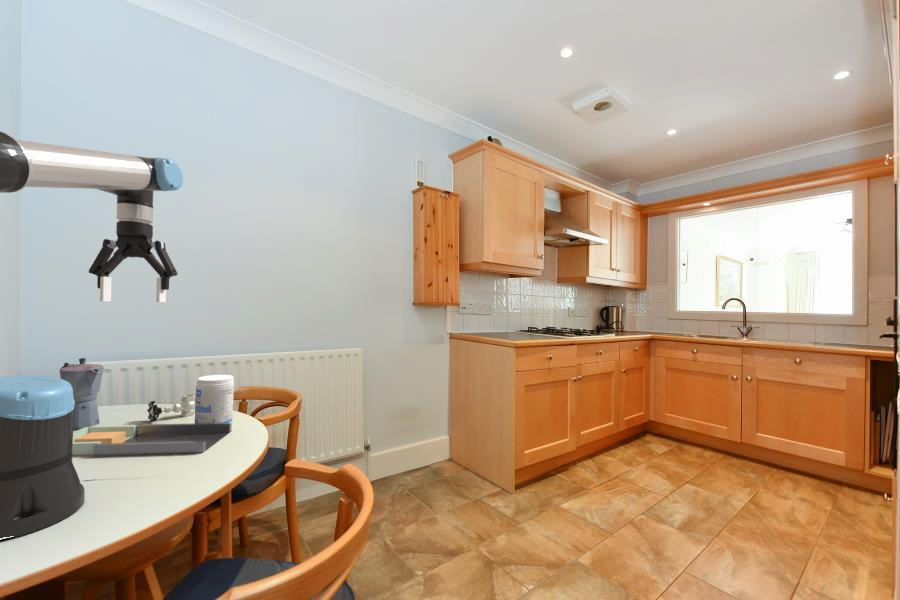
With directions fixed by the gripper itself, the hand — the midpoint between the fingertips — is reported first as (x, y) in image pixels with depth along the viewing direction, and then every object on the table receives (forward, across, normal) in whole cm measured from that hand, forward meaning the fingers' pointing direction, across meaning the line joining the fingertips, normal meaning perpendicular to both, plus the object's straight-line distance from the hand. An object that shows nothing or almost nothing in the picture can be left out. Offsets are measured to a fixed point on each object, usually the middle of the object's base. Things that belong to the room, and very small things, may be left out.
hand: (133, 301), depth 102 cm
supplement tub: (+37, -17, -8) cm, 41 cm away
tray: (+37, +6, +4) cm, 37 cm away
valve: (+37, 0, -18) cm, 41 cm away
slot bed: (+37, -12, +4) cm, 39 cm away
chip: (+36, +6, +5) cm, 37 cm away
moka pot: (+37, +22, -12) cm, 45 cm away
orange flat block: (+36, +2, +5) cm, 37 cm away
